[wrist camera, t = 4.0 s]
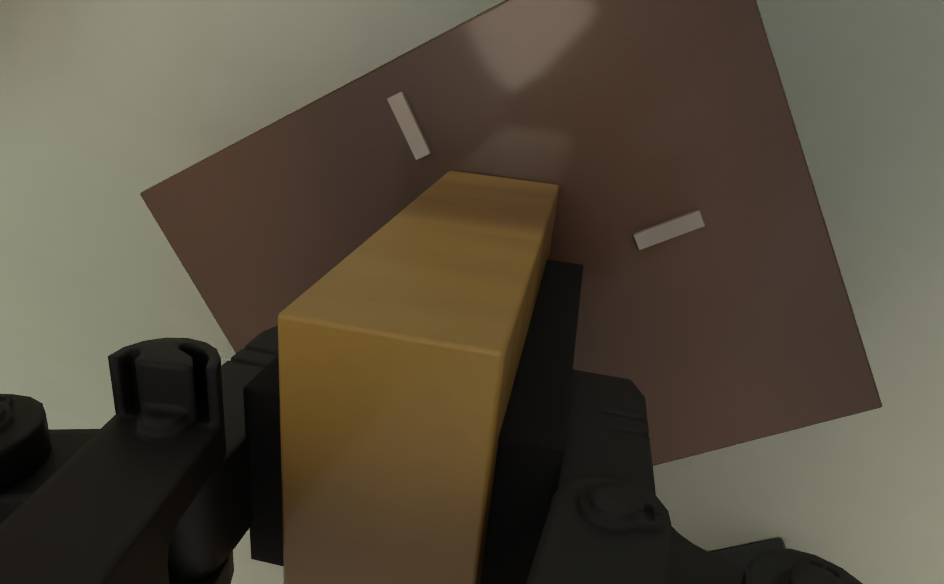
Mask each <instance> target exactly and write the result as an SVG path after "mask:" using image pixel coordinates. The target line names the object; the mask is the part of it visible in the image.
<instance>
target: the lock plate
mask: <svg viewBox="0 0 944 584" xmlns="http://www.w3.org/2000/svg"><path fill="white" fill-rule="evenodd" d="M448 171H457V172H465V173H472V174H480V175H487V176H495V177H503V178H510V179H518V180H525V181H533V182H540V183H548V184H555V185H558V186H559V192H558V198H557V205H556V212H555V219H554V226H553V233H552V240H551V247H550V253H549V260H555V261H562V262H568V263H575V264H582V265H583V275H582V285H581V294H580V304H579V313H578V323H577V332H576V342H575V352H574V361H573V370H579V371H585V372H591V373H596V374H602V375H608V376H613V377H619V378H625V379H631V380H632V382H633V383H634V384H635V385H636V387H637V388H638V389H639V390H640V392H641V393H642V394H643V396H644V397H645V399H646V409H647V420H648V428H649V437H650V446H651V456H652V465H653V466H654V465H658V464H662V463H665V462H669V461H673V460H677V459H681V458H685V457H689V456H693V455H697V454H701V453H704V452H708V451H712V450H716V449H720V448H724V447H728V446H732V445H736V444H740V443H744V442H747V441H751V440H755V439H759V438H763V437H767V436H771V435H775V434H779V433H783V432H787V431H790V430H794V429H798V428H802V427H806V426H810V425H814V424H818V423H822V422H826V421H829V420H833V419H837V418H841V417H845V416H849V415H853V414H857V413H861V412H865V411H869V410H872V409H876V408H880V407H882V403H881V400H880V397H879V393H878V390H877V387H876V384H875V381H874V377H873V374H872V371H871V368H870V365H869V361H868V358H867V355H866V352H865V349H864V345H863V342H862V339H861V336H860V333H859V329H858V326H857V323H856V320H855V317H854V313H853V310H852V307H851V304H850V300H849V297H848V294H847V291H846V288H845V284H844V281H843V278H842V275H841V272H840V268H839V265H838V262H837V259H836V256H835V252H834V249H833V246H832V243H831V240H830V236H829V233H828V230H827V227H826V224H825V220H824V217H823V214H822V211H821V208H820V204H819V201H818V198H817V195H816V191H815V188H814V185H813V182H812V179H811V175H810V172H809V169H808V166H807V163H806V159H805V156H804V153H803V150H802V147H801V143H800V140H799V137H798V134H797V131H796V127H795V124H794V121H793V118H792V115H791V111H790V108H789V105H788V102H787V98H786V95H785V92H784V89H783V86H782V82H781V79H780V76H779V73H778V70H777V66H776V63H775V60H774V57H773V54H772V50H771V47H770V44H769V41H768V38H767V34H766V31H765V28H764V25H763V22H762V18H761V15H760V12H759V9H758V6H757V2H756V0H505V1H503V2H501V3H499V4H497V5H496V6H494V7H492V8H490V9H488V10H486V11H484V12H482V13H480V14H478V15H477V16H475V17H473V18H471V19H469V20H467V21H465V22H463V23H461V24H460V25H458V26H456V27H454V28H452V29H450V30H448V31H446V32H444V33H442V34H441V35H439V36H437V37H435V38H433V39H431V40H429V41H427V42H425V43H423V44H422V45H420V46H418V47H416V48H414V49H412V50H410V51H408V52H406V53H405V54H403V55H401V56H399V57H397V58H395V59H393V60H391V61H389V62H387V63H386V64H384V65H382V66H380V67H378V68H376V69H374V70H372V71H370V72H369V73H367V74H365V75H363V76H361V77H359V78H357V79H355V80H353V81H351V82H350V83H348V84H346V85H344V86H342V87H340V88H338V89H336V90H334V91H332V92H331V93H329V94H327V95H325V96H323V97H321V98H319V99H317V100H315V101H314V102H312V103H310V104H308V105H306V106H304V107H302V108H300V109H298V110H296V111H295V112H293V113H291V114H289V115H287V116H285V117H283V118H281V119H279V120H277V121H276V122H274V123H272V124H270V125H268V126H266V127H264V128H262V129H260V130H259V131H257V132H255V133H253V134H251V135H249V136H247V137H245V138H243V139H241V140H240V141H238V142H236V143H234V144H232V145H230V146H228V147H226V148H224V149H223V150H221V151H219V152H217V153H215V154H213V155H211V156H209V157H207V158H205V159H204V160H202V161H200V162H198V163H196V164H194V165H192V166H190V167H188V168H186V169H185V170H183V171H181V172H179V173H177V174H175V175H173V176H171V177H169V178H168V179H166V180H164V181H162V182H160V183H158V184H156V185H154V186H152V187H150V188H149V189H147V190H145V191H143V192H141V194H140V195H141V197H142V198H143V200H144V202H145V203H146V205H147V206H148V208H149V210H150V211H151V213H152V215H153V216H154V218H155V220H156V221H157V223H158V225H159V226H160V228H161V230H162V231H163V233H164V235H165V236H166V238H167V240H168V241H169V243H170V245H171V246H172V248H173V250H174V251H175V253H176V255H177V256H178V258H179V260H180V261H181V263H182V265H183V266H184V268H185V270H186V271H187V273H188V274H189V276H190V278H191V279H192V281H193V283H194V284H195V286H196V288H197V289H198V291H199V293H200V294H201V296H202V298H203V299H204V301H205V303H206V304H207V306H208V308H209V309H210V311H211V313H212V314H213V316H214V318H215V319H216V321H217V323H218V324H219V326H220V328H221V329H222V331H223V333H224V334H225V336H226V337H227V339H228V341H229V342H230V344H231V346H232V347H233V349H234V351H235V352H236V353H237V352H239V351H240V350H241V349H244V348H245V346H246V345H247V344H248V343H249V342H250V341H251V340H253V339H254V338H255V337H256V336H257V335H258V334H260V333H261V332H263V331H265V330H268V329H270V328H272V327H275V326H277V325H278V315H279V313H280V312H281V311H283V310H284V309H285V308H286V307H287V306H289V305H290V304H291V303H292V302H293V301H295V300H296V299H297V298H298V297H299V296H301V295H302V294H303V293H304V292H305V291H306V290H308V289H309V288H310V287H311V286H312V285H314V284H315V283H316V282H317V281H318V280H320V279H321V278H322V277H323V276H324V275H326V274H327V273H328V272H329V271H330V270H332V269H333V268H334V267H335V266H336V265H338V264H339V263H340V262H341V261H342V260H343V259H345V258H346V257H347V256H348V255H349V254H351V253H352V252H353V251H354V250H355V249H357V248H358V247H359V246H360V245H361V244H363V243H364V242H365V241H366V240H367V239H369V238H370V237H371V236H372V235H373V234H374V233H376V232H377V231H378V230H379V229H380V228H382V227H383V226H384V225H385V224H386V223H388V222H389V221H390V220H391V219H392V218H394V217H395V216H396V215H397V214H398V213H400V212H401V211H402V210H403V209H404V208H406V207H407V206H408V205H409V204H410V203H411V202H413V201H414V200H415V199H416V198H417V197H419V196H420V195H421V194H422V193H423V192H425V191H426V190H427V189H428V188H429V187H431V186H432V185H433V184H434V183H435V182H437V181H438V180H439V179H440V178H441V177H443V176H444V175H445V174H446V173H447V172H448Z"/></svg>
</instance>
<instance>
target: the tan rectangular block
mask: <svg viewBox="0 0 944 584" xmlns="http://www.w3.org/2000/svg"><path fill="white" fill-rule="evenodd" d="M558 192H559V186H558V185H555V184H548V183H540V182H533V181H525V180H518V179H510V178H503V177H495V176H487V175H480V174H472V173H465V172H457V171H448V172H447V173H446V174H445V175H444V176H443V177H441V178H440V179H439V180H438V181H437V182H435V183H434V184H433V185H432V186H431V187H429V188H428V189H427V190H426V191H425V192H423V193H422V194H421V195H420V196H419V197H417V198H416V199H415V200H414V201H413V202H411V203H410V204H409V205H408V206H407V207H406V208H404V209H403V210H402V211H401V212H400V213H398V214H397V215H396V216H395V217H394V218H392V219H391V220H390V221H389V222H388V223H386V224H385V225H384V226H383V227H382V228H380V229H379V230H378V231H377V232H376V233H374V234H373V235H372V236H371V237H370V238H369V239H367V240H366V241H365V242H364V243H363V244H361V245H360V246H359V247H358V248H357V249H355V250H354V251H353V252H352V253H351V254H349V255H348V256H347V257H346V258H345V259H343V260H342V261H341V262H340V263H339V264H338V265H336V266H335V267H334V268H333V269H332V270H330V271H329V272H328V273H327V274H326V275H324V276H323V277H322V278H321V279H320V280H318V281H317V282H316V283H315V284H314V285H312V286H311V287H310V288H309V289H308V290H306V291H305V292H304V293H303V294H302V295H301V296H299V297H298V298H297V299H296V300H295V301H293V302H292V303H291V304H290V305H289V306H287V307H286V308H285V309H284V310H283V311H281V312H280V313H279V315H278V352H279V394H280V435H281V477H282V518H283V560H284V584H480V580H481V572H482V565H483V557H484V549H485V541H486V534H487V526H488V518H489V510H490V503H491V495H492V487H493V479H494V472H495V464H496V456H497V448H498V441H499V435H500V431H501V428H502V424H503V420H504V417H505V413H506V409H507V406H508V402H509V398H510V395H511V391H512V387H513V383H514V380H515V376H516V372H517V369H518V365H519V361H520V358H521V354H522V350H523V346H524V343H525V339H526V335H527V332H528V328H529V324H530V321H531V317H532V313H533V310H534V306H535V302H536V298H537V295H538V291H539V287H540V284H541V280H542V276H543V273H544V269H545V265H546V262H547V259H549V253H550V247H551V240H552V233H553V226H554V219H555V212H556V205H557V198H558Z"/></svg>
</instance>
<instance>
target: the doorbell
mask: <svg viewBox="0 0 944 584" xmlns="http://www.w3.org/2000/svg"><path fill="white" fill-rule="evenodd" d="M767 549H786V547H785V545H784V542H783V540H782V539H781V538H777V539H772V540H768V541H763V542H758V543H753V544H748V545H743V546H739V547H734V548H729V549H724V550H719V551H714V552H710V553H711V554H713V555H715V556H717V557H720V558H722V559H724V560H726V561H729V562H731V563H733V564H735V565H738V566H740V567H742V568H745V569H746V568H747V566H748V564H749V562H750V560H751V558H752V557H753V556H755V555H757V554H759V553H761V552H763V551H765V550H767Z"/></svg>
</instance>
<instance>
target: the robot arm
mask: <svg viewBox="0 0 944 584" xmlns="http://www.w3.org/2000/svg"><path fill="white" fill-rule="evenodd" d="M582 275H583V265H582V264H575V263H568V262H562V261H555V260H549V259H547V262H546V265H545V269H544V273H543V276H542V280H541V284H540V287H539V291H538V295H537V298H536V302H535V306H534V310H533V313H532V317H531V321H530V324H529V328H528V332H527V335H526V339H525V343H524V346H523V350H522V354H521V358H520V361H519V365H518V369H517V372H516V376H515V380H514V383H513V387H512V391H511V395H510V398H509V402H508V406H507V409H506V413H505V417H504V420H503V424H502V428H501V431H500V435H499V441H498V448H497V456H496V464H495V472H494V479H493V487H492V495H491V503H490V510H489V518H488V526H487V534H486V541H485V549H484V557H483V565H482V572H481V580H480V584H862V583H861V582H860V581H858V580H857V579H856V578H854V577H853V576H852V575H850V574H849V573H848V572H846V571H845V570H844V569H843V568H841V567H839V566H837V565H835V564H832V563H830V562H828V561H826V560H824V559H822V558H820V557H818V556H816V555H813V554H809V553H805V552H801V551H797V550H793V549H767V550H765V551H763V552H761V553H759V554H757V555H755V556H753V557H752V558H751V560H750V562H749V564H748V566H747V568H746V569H745V568H742V567H740V566H738V565H735V564H733V563H731V562H729V561H726V560H724V559H722V558H720V557H717V556H715V555H713V554H711V553H709V552H707V551H705V550H703V549H701V548H699V547H698V546H696V545H694V544H692V543H691V542H690V541H688V540H687V539H686V538H684V537H683V536H681V535H680V534H679V533H678V532H677V531H676V530H675V529H674V528H673V527H672V526H671V521H670V517H669V513H668V510H667V509H666V508H665V507H664V505H663V504H662V503H661V501H660V500H659V499H658V498H657V496H656V494H655V484H654V475H653V465H652V456H651V446H650V437H649V428H648V420H647V409H646V399H645V397H644V396H643V394H642V393H641V392H640V390H639V389H638V388H637V387H636V385H635V384H634V383H633V382H632V380H631V379H625V378H619V377H613V376H608V375H602V374H596V373H591V372H585V371H579V370H573V361H574V352H575V342H576V332H577V323H578V313H579V304H580V294H581V285H582ZM108 360H109V368H110V375H111V382H112V390H113V397H114V404H115V411H116V415H115V416H114V417H113V418H112V419H111V420H110V421H109V422H107V423H106V424H105V425H104V426H103V427H102V428H101V429H63V430H49V429H48V424H47V419H46V413H45V410H44V407H43V404H42V403H40V402H38V401H37V400H35V399H33V398H31V397H27V396H20V395H14V394H0V584H231V580H232V576H233V572H234V565H233V549H234V548H235V547H236V545H237V544H238V543H239V541H240V540H241V538H242V537H243V536H244V534H245V533H246V532H247V530H248V529H249V528H250V542H251V559H254V560H259V561H263V562H267V563H272V564H276V565H280V566H284V560H283V518H282V477H281V435H280V394H279V352H278V325H277V326H275V327H272V328H270V329H268V330H265V331H263V332H261V333H260V334H258V335H257V336H256V337H255V338H254V339H253V340H251V341H250V342H249V343H248V344H247V345H246V346H245V348H244V349H241V350H240V351H239V352H237V353H236V354H235V355H234V356H233V357H231V361H227V362H226V363H224V364H223V365H222V366H221V358H220V356H219V353H218V351H217V349H216V348H214V347H212V346H211V345H209V344H207V343H206V342H202V341H198V340H193V339H189V338H161V339H154V340H147V341H142V342H139V343H136V344H133V345H129V346H126V347H123V348H122V349H120V350H118V351H116V352H115V353H113V354H111V355H109V356H108Z"/></svg>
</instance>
